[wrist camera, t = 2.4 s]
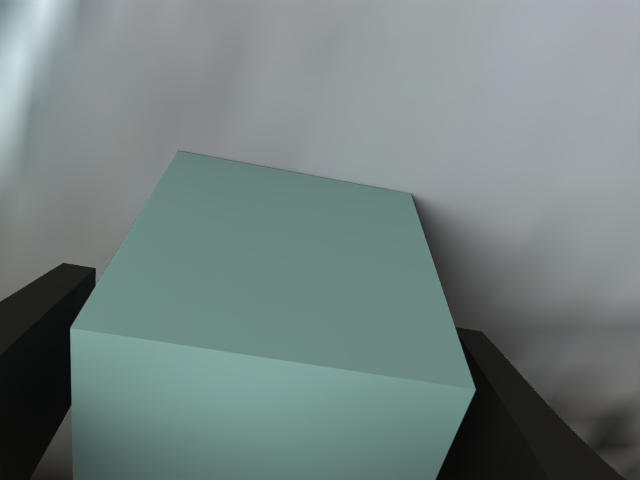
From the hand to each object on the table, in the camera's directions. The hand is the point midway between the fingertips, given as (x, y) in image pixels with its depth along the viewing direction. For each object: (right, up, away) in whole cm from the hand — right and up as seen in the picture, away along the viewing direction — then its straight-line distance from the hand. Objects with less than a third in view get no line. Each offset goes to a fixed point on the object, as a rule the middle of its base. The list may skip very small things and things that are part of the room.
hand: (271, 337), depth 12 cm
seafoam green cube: (0, +1, +2) cm, 3 cm away
